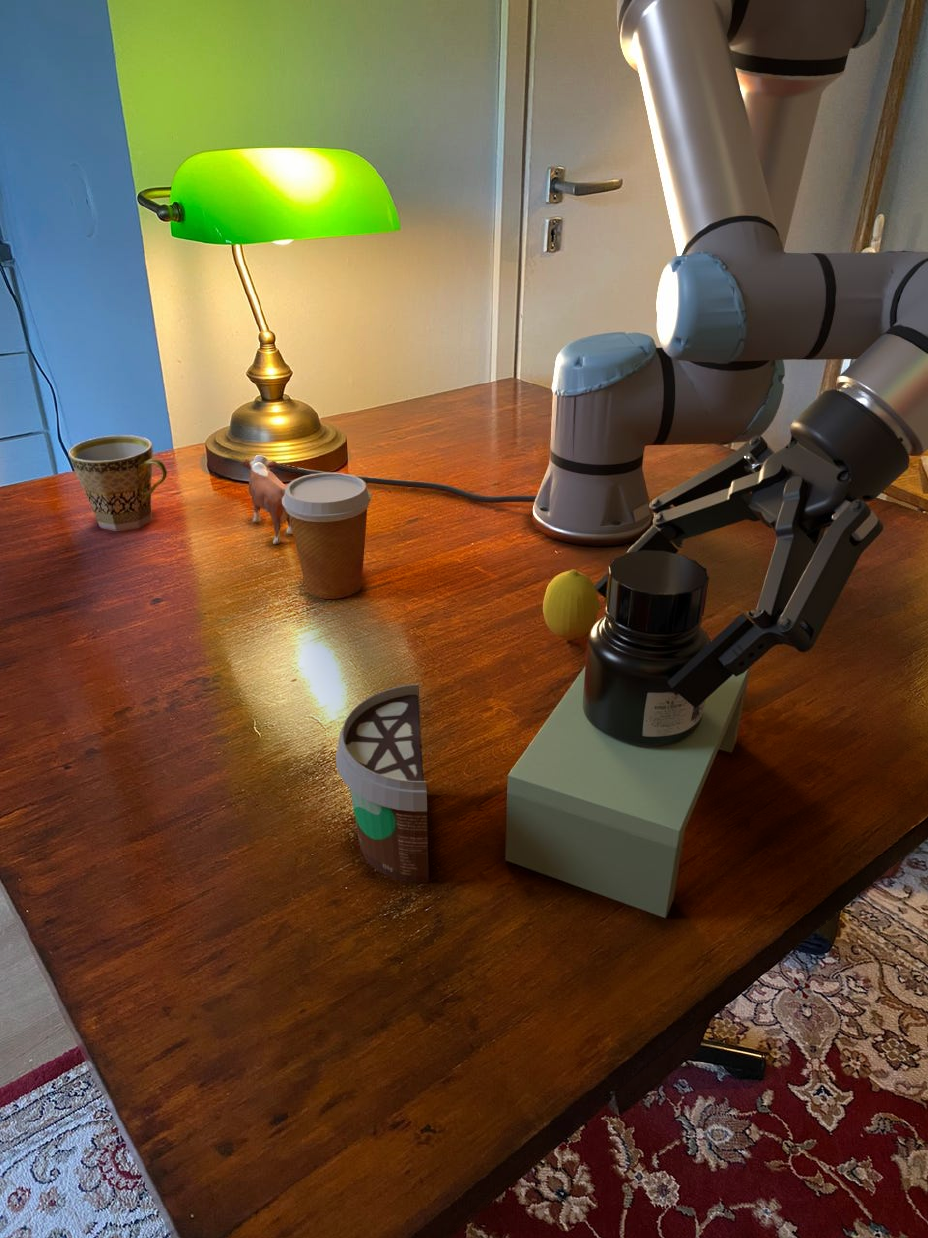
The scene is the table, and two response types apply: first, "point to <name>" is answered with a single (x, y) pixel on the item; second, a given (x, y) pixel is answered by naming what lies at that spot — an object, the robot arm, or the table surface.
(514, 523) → the table surface
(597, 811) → the shelf
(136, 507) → the ceramic cup
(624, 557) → the ink bottle
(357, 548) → the disposable coffee cup
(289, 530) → the bull figurine
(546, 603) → the lemon
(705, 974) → the table surface
